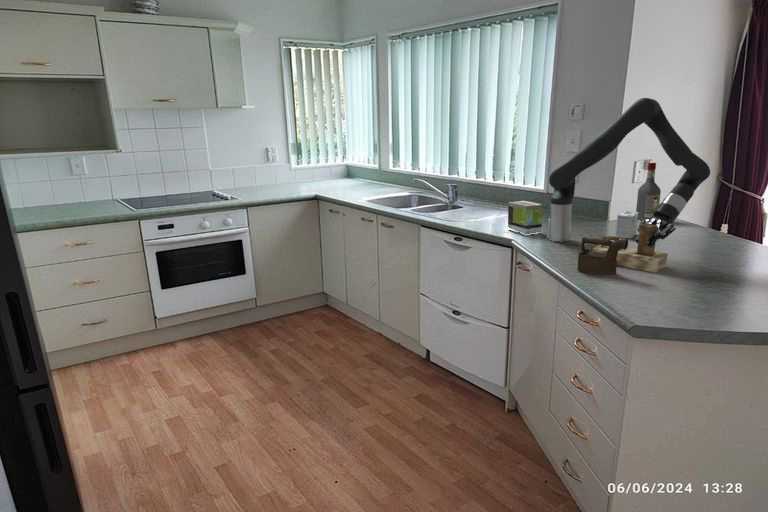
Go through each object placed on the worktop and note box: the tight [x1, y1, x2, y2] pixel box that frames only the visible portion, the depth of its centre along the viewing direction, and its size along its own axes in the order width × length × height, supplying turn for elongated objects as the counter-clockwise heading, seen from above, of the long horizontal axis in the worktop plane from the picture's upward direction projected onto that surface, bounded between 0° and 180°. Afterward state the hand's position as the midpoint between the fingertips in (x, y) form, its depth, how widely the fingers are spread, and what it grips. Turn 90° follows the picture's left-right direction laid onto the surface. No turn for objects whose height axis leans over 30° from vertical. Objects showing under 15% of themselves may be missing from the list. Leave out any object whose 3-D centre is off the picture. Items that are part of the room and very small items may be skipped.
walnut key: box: [636, 224, 657, 257], centre depth 186 cm, size 4×4×16 cm
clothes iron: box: [577, 237, 629, 275], centre depth 182 cm, size 8×16×13 cm, turn 48°
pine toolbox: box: [591, 234, 668, 274], centre depth 191 cm, size 24×10×10 cm, turn 43°
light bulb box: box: [615, 210, 639, 240], centre depth 231 cm, size 11×7×11 cm, turn 141°
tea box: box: [507, 200, 544, 234], centre depth 246 cm, size 15×10×15 cm
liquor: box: [635, 162, 661, 221], centre depth 255 cm, size 9×9×30 cm
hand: (642, 243), depth 185 cm, fingers open, 4 cm apart
